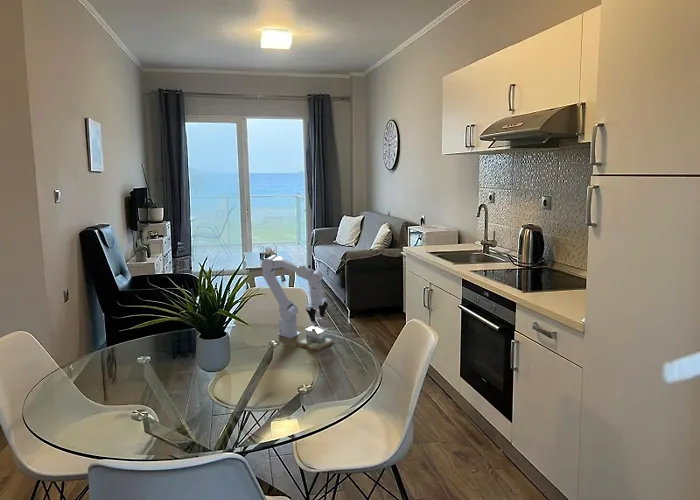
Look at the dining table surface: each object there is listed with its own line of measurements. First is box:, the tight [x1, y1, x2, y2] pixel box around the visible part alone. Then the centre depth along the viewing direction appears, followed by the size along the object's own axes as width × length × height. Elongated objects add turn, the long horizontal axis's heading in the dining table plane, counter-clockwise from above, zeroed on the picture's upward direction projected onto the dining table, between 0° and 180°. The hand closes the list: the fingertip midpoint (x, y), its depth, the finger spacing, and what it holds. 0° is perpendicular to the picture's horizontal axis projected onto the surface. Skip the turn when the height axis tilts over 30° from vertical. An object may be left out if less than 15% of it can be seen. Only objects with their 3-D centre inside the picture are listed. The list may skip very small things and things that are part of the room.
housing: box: [305, 326, 326, 344], centre depth 261 cm, size 4×9×6 cm, turn 54°
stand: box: [296, 337, 335, 353], centre depth 262 cm, size 14×13×2 cm
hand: (317, 318), depth 267 cm, fingers open, 7 cm apart
